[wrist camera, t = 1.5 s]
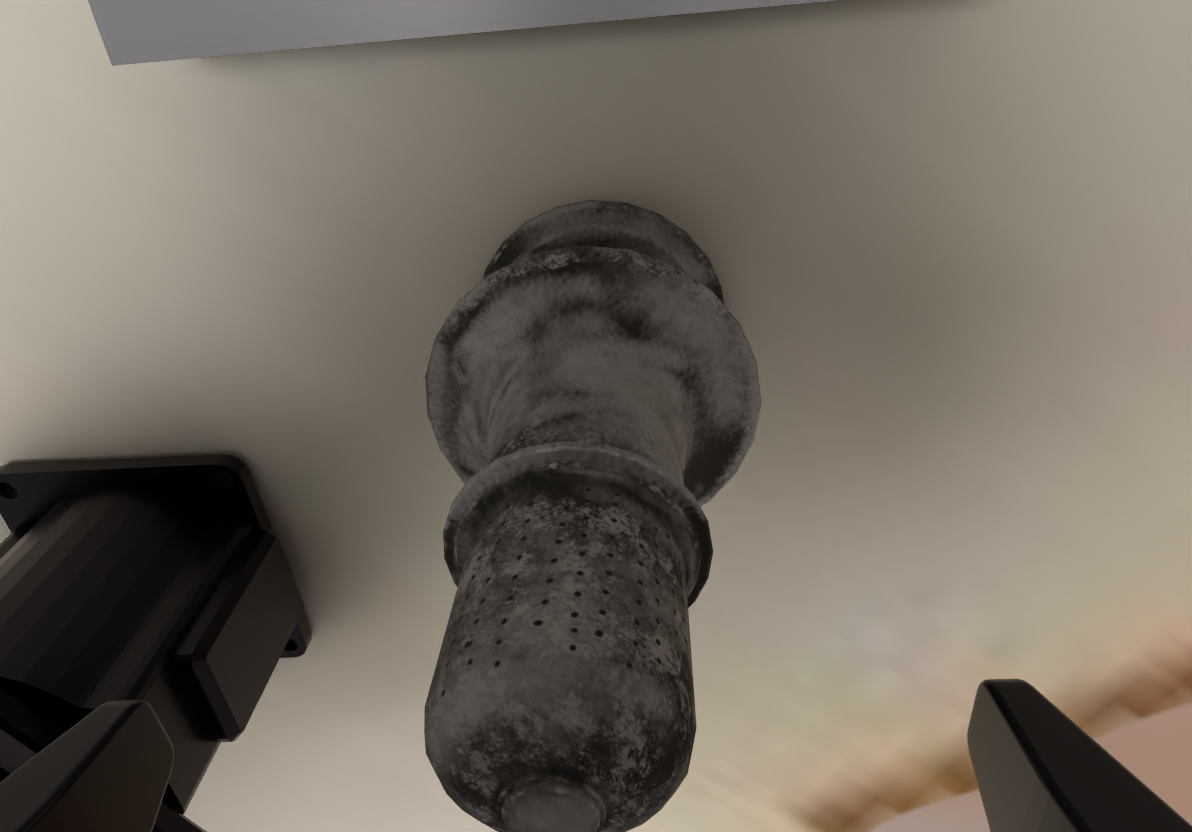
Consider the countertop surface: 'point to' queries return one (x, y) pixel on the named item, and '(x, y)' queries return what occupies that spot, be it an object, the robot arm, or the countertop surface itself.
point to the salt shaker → (580, 515)
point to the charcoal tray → (347, 21)
